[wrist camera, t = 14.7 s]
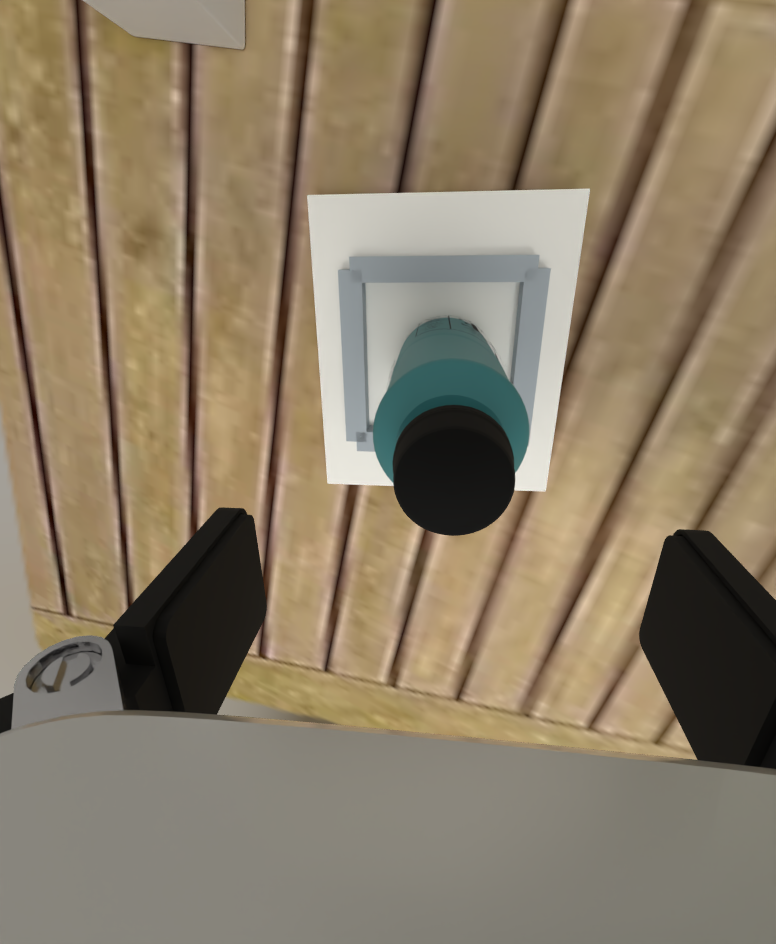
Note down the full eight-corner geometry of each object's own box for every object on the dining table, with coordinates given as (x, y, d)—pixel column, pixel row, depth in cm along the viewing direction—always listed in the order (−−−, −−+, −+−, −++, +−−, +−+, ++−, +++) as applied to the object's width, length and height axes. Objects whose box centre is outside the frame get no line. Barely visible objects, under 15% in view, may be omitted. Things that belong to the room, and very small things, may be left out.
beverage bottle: (383, 383, 34) (319, 532, 16) (422, 292, 31) (398, 348, 13) (465, 419, 34) (493, 604, 16) (511, 334, 32) (606, 443, 14)
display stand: (576, 194, 30) (597, 185, 26) (538, 474, 39) (549, 500, 35) (318, 200, 32) (300, 192, 28) (335, 468, 40) (323, 492, 36)
